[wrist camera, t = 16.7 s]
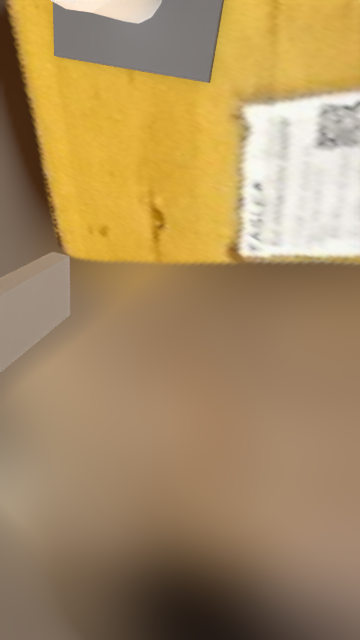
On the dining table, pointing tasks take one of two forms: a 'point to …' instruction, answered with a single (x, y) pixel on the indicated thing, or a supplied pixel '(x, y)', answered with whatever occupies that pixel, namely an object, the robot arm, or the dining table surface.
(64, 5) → the foam cup
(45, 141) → the dining table surface
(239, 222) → the dining table surface
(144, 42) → the rubber mat
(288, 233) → the dining table surface
